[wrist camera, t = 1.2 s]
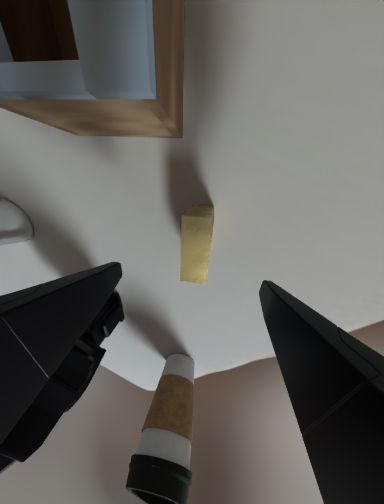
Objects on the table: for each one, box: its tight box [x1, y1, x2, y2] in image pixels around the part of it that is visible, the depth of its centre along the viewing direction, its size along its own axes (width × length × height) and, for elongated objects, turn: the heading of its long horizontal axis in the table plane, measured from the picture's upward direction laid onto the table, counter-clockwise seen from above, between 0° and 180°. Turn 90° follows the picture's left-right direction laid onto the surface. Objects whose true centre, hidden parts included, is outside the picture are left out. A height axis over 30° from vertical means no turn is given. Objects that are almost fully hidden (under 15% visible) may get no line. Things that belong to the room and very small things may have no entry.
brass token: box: [180, 205, 214, 284], centre depth 14 cm, size 2×6×6 cm, turn 177°
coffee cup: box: [126, 354, 194, 504], centre depth 23 cm, size 8×8×15 cm
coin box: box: [0, 0, 185, 138], centre depth 8 cm, size 11×10×8 cm
